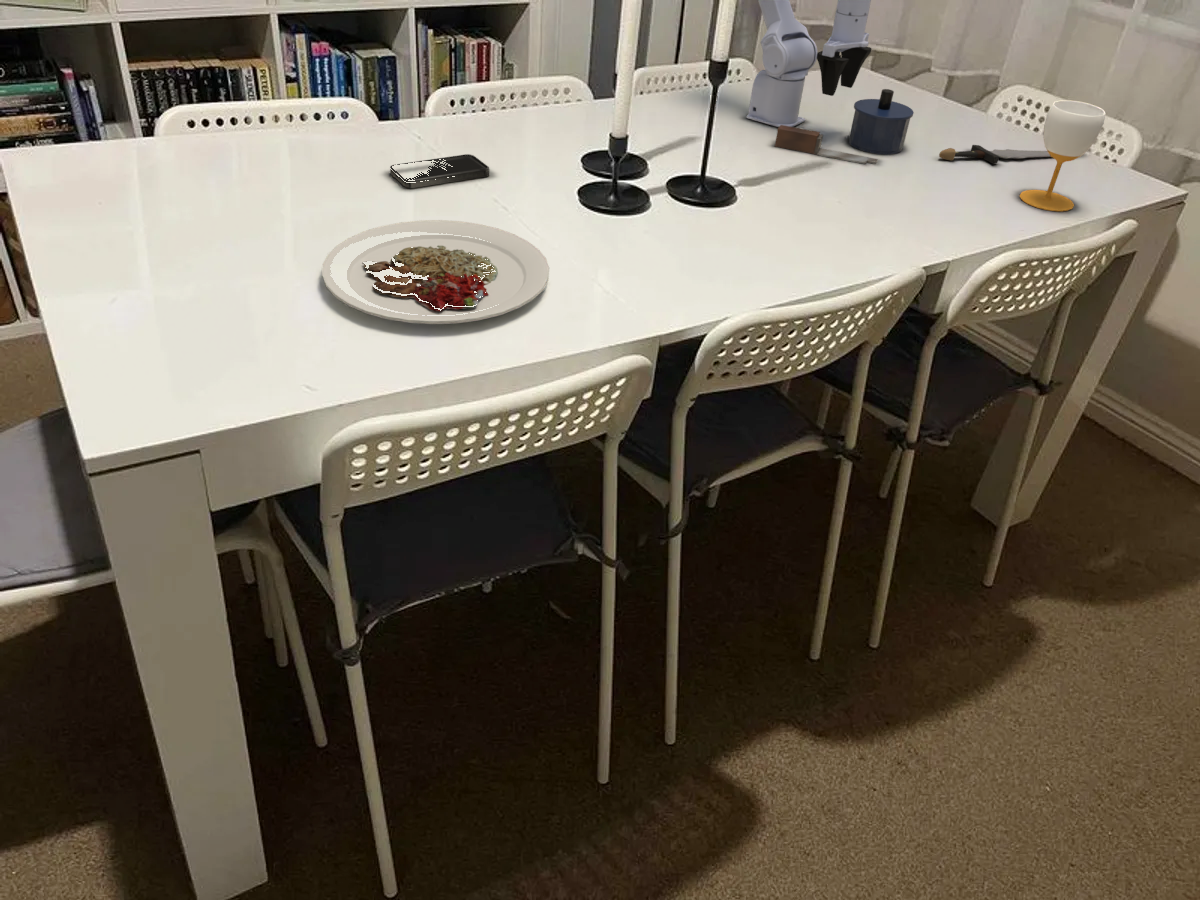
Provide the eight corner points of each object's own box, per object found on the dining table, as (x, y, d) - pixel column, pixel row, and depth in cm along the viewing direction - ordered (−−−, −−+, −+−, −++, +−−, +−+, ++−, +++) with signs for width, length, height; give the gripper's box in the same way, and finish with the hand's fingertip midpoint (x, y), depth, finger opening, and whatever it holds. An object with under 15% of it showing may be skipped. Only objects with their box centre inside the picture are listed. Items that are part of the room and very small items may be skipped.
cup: (1019, 187, 176) (1049, 96, 166) (1072, 197, 174) (1106, 105, 164) (1019, 205, 169) (1050, 111, 159) (1074, 215, 167) (1110, 120, 157)
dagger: (927, 150, 189) (929, 139, 188) (1080, 153, 193) (1084, 142, 192) (943, 165, 183) (946, 154, 182) (1101, 167, 188) (1105, 156, 186)
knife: (774, 147, 185) (777, 128, 183) (777, 142, 187) (781, 124, 185) (874, 166, 180) (879, 147, 178) (877, 161, 182) (881, 142, 180)
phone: (491, 169, 163) (406, 182, 156) (491, 175, 164) (407, 189, 157) (470, 153, 168) (387, 165, 162) (470, 159, 169) (388, 171, 162)
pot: (839, 144, 188) (846, 110, 185) (862, 131, 195) (869, 98, 191) (889, 158, 184) (897, 123, 180) (910, 145, 191) (919, 111, 187)
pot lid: (843, 113, 185) (848, 89, 182) (867, 100, 192) (872, 78, 190) (898, 127, 180) (903, 104, 177) (921, 114, 187) (927, 91, 185)
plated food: (442, 214, 150) (441, 193, 148) (593, 281, 136) (595, 258, 134) (276, 276, 131) (272, 253, 129) (432, 361, 116) (431, 336, 114)
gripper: (854, 22, 170) (839, 103, 178) (889, 10, 179) (873, 87, 187) (817, 15, 173) (804, 94, 181) (854, 4, 183) (840, 79, 190)
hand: (837, 90), depth 184 cm, fingers open, 7 cm apart
